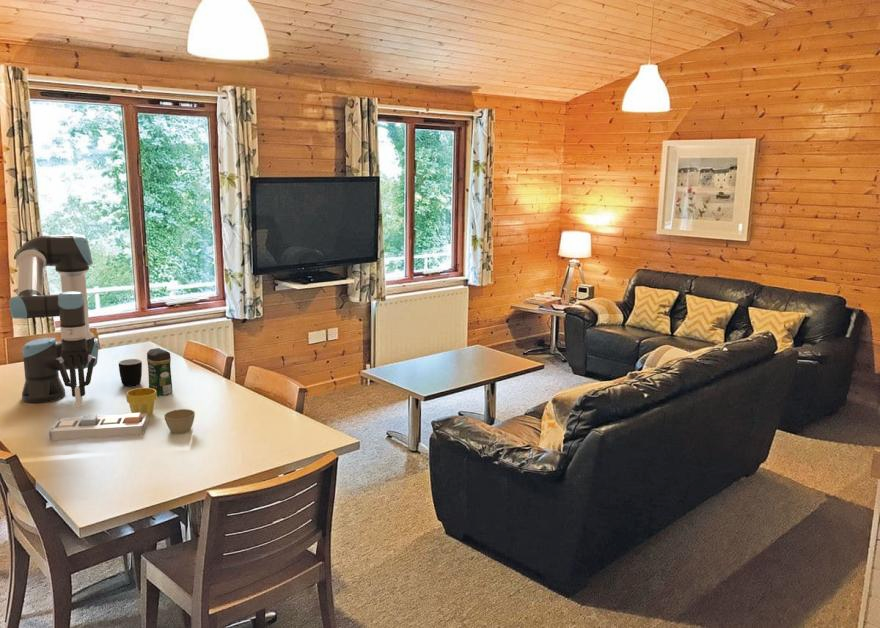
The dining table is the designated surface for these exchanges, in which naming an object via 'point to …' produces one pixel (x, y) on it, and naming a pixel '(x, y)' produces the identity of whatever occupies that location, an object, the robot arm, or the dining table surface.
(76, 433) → the keypad
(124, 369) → the mug
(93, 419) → the key slate
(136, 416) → the key terracotta
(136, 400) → the plant pot
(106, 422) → the key sage
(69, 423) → the key cream
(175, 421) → the flower pot
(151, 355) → the coffee jar
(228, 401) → the dining table surface
